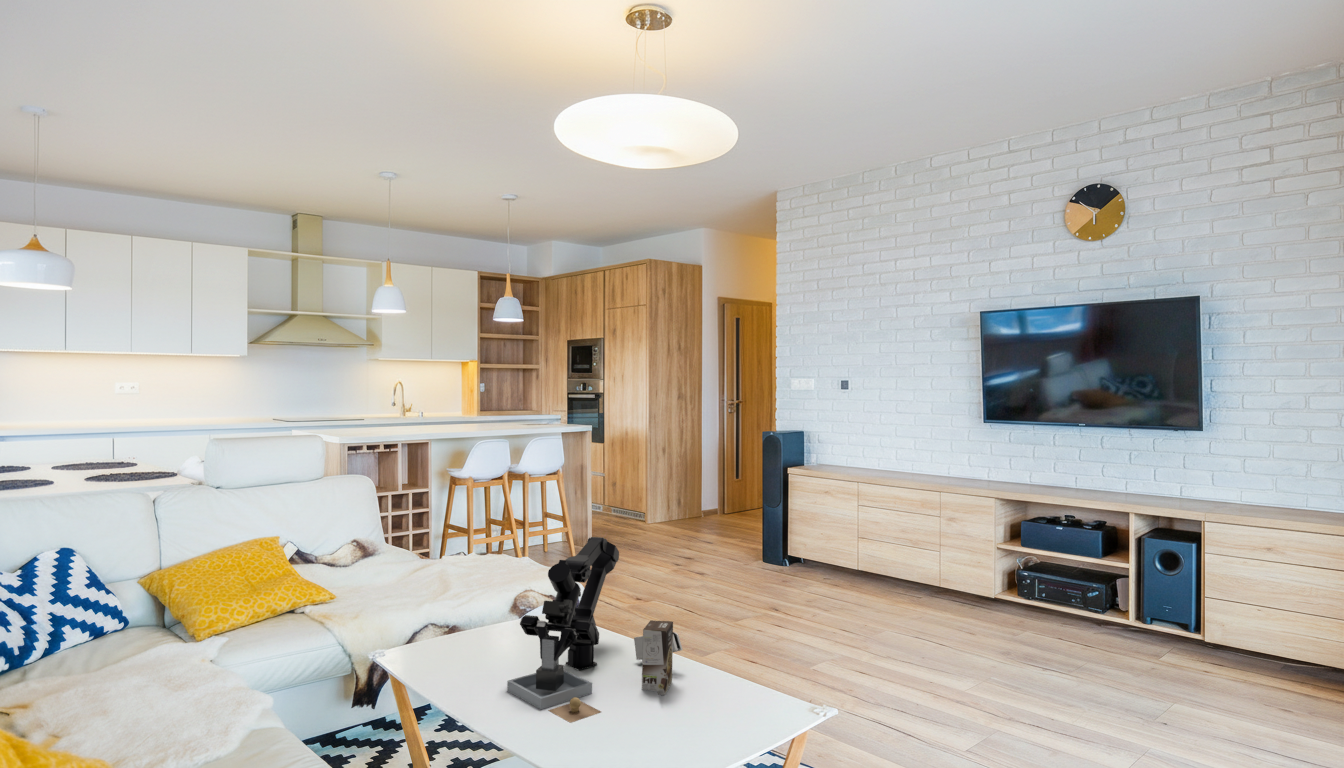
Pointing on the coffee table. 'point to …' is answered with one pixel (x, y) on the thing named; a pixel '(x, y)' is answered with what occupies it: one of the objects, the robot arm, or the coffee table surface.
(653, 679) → the coffee box
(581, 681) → the bin
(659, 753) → the coffee table surface
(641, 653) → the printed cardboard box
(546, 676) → the strut
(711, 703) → the coffee table surface
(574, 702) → the stud mount
